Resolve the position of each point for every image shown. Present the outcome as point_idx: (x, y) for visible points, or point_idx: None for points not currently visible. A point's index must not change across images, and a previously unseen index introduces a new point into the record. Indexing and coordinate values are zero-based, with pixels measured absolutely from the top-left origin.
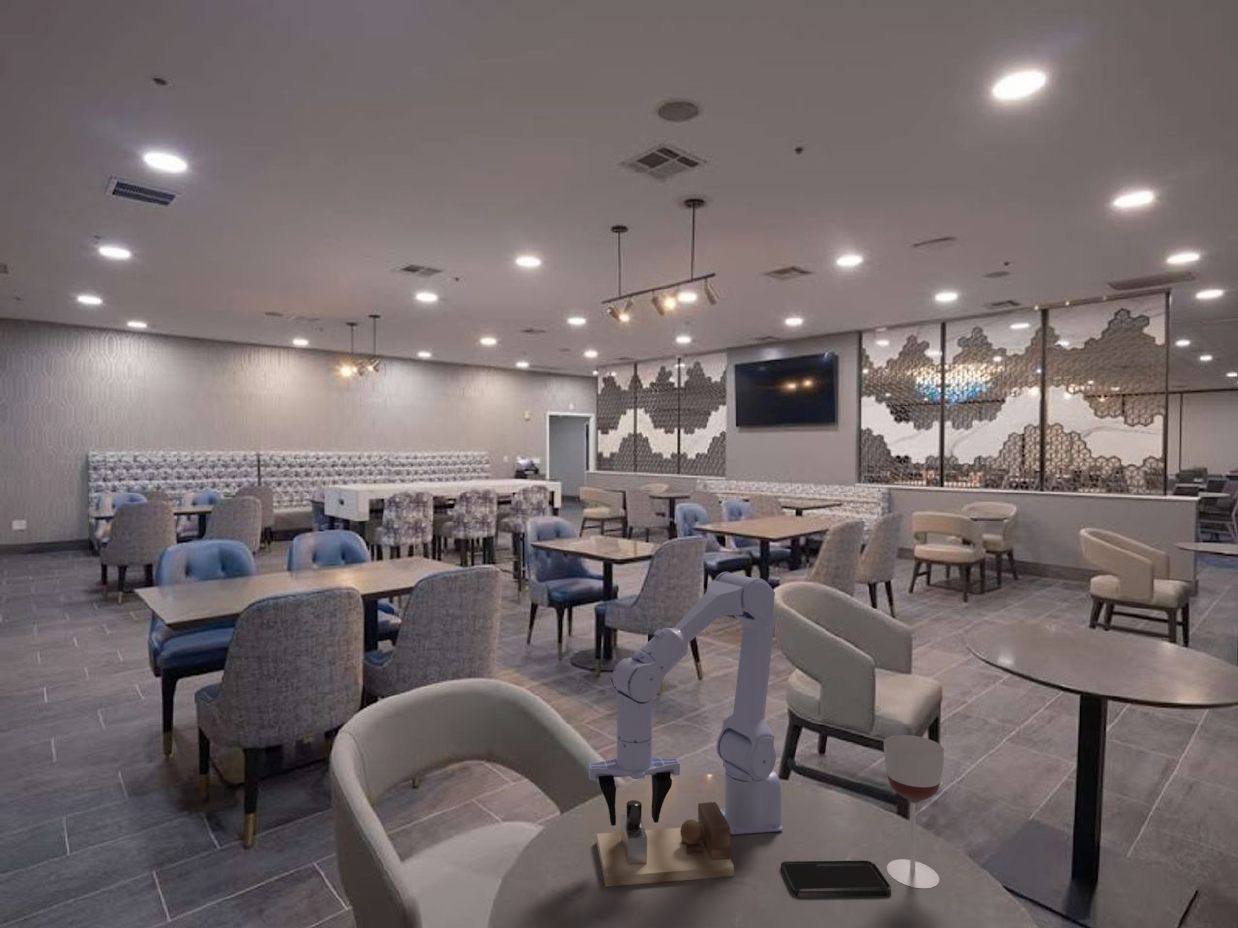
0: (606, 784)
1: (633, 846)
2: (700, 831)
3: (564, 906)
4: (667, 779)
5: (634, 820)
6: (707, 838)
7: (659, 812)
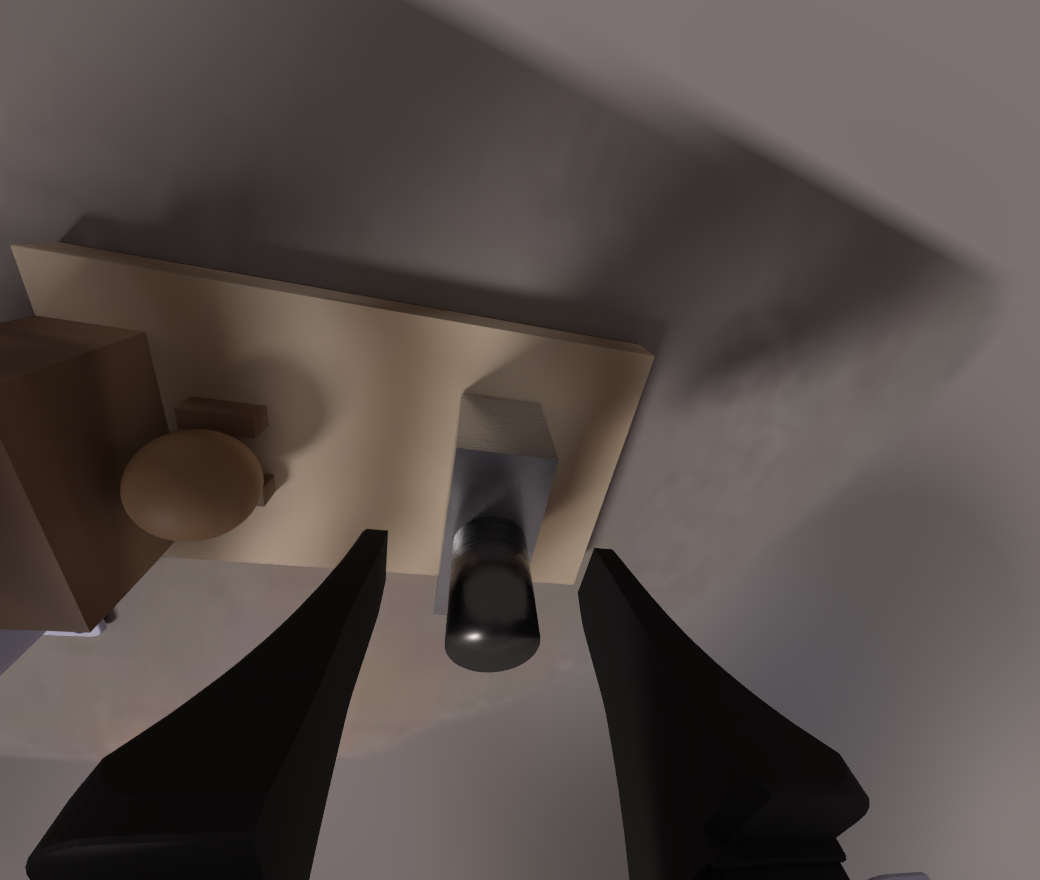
0: (801, 824)
1: (526, 434)
2: (132, 458)
3: (825, 279)
4: (99, 877)
5: (501, 550)
6: (113, 425)
7: (341, 564)
